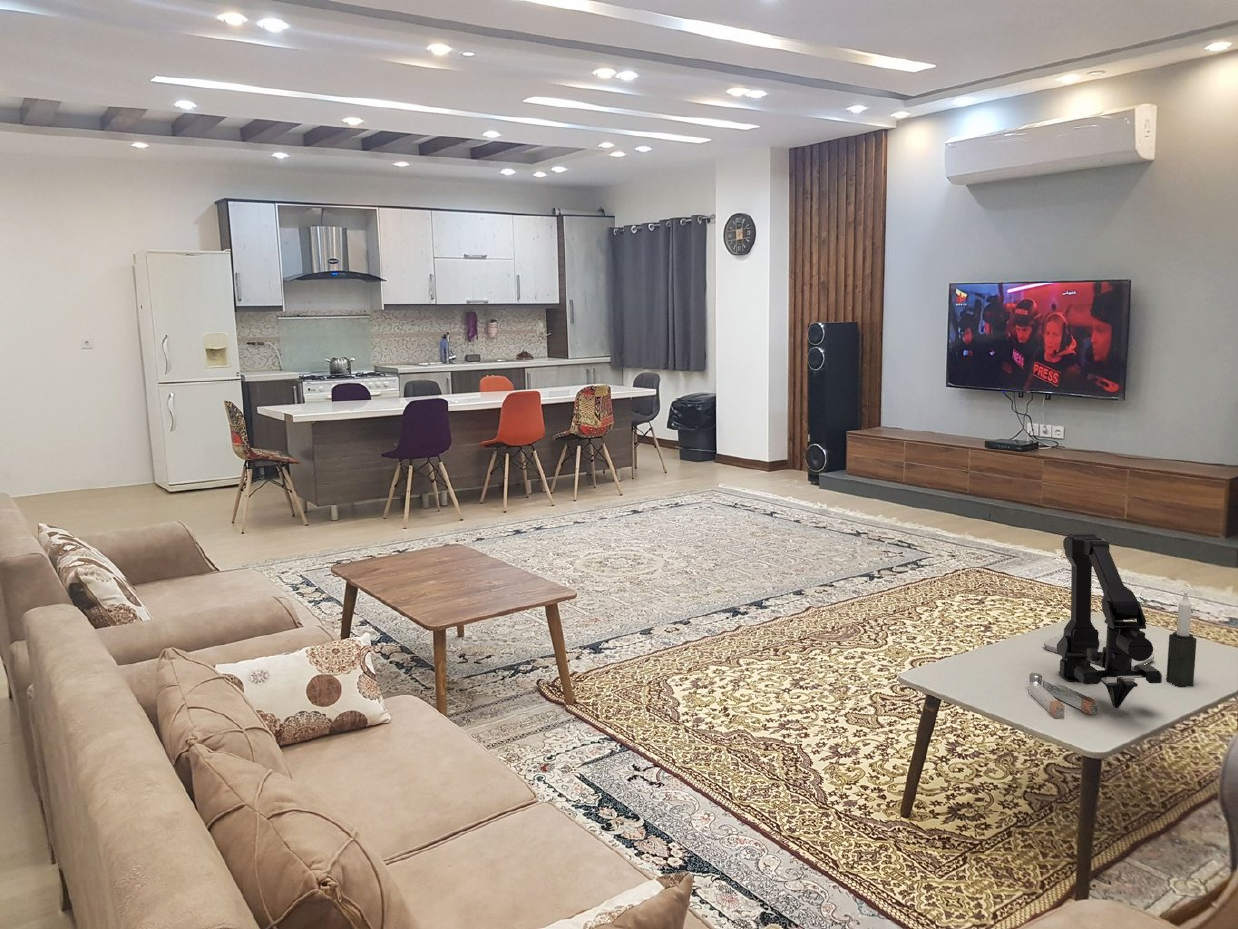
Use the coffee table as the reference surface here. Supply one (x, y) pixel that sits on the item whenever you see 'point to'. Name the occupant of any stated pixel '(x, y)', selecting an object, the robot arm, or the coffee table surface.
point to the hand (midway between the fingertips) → (1115, 707)
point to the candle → (1182, 648)
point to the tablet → (1053, 642)
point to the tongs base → (1045, 696)
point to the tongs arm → (1071, 697)
